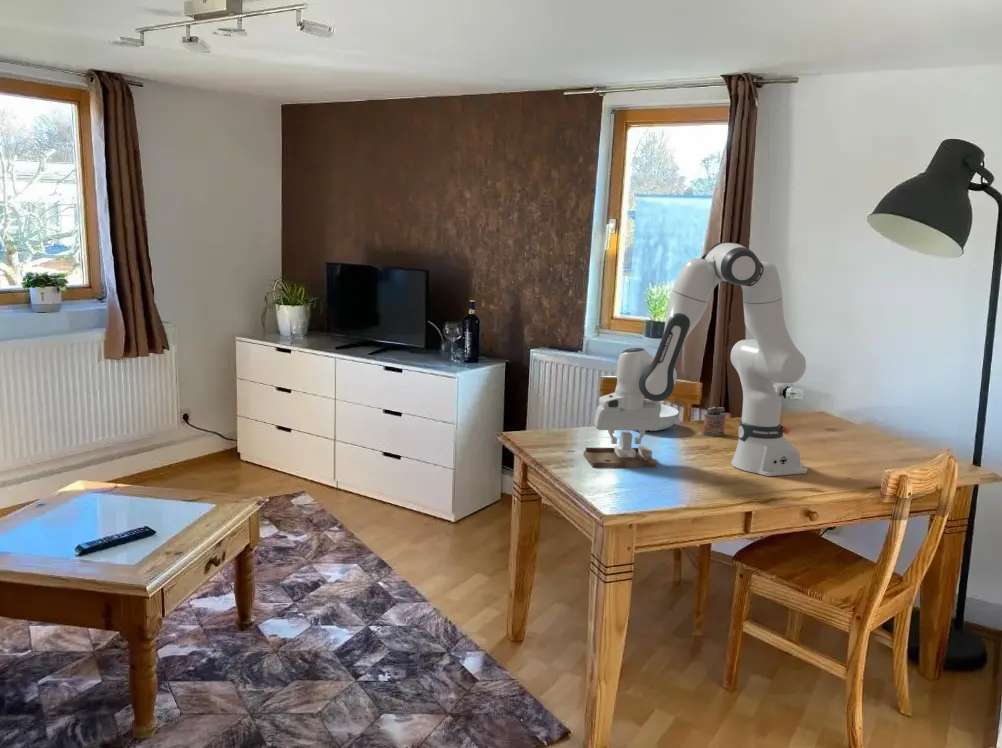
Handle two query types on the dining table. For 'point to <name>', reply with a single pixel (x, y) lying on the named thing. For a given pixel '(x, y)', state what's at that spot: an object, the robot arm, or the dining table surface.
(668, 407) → the serving bowl
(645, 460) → the brown board with blocks
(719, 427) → the lighter
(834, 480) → the dining table surface
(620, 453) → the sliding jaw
